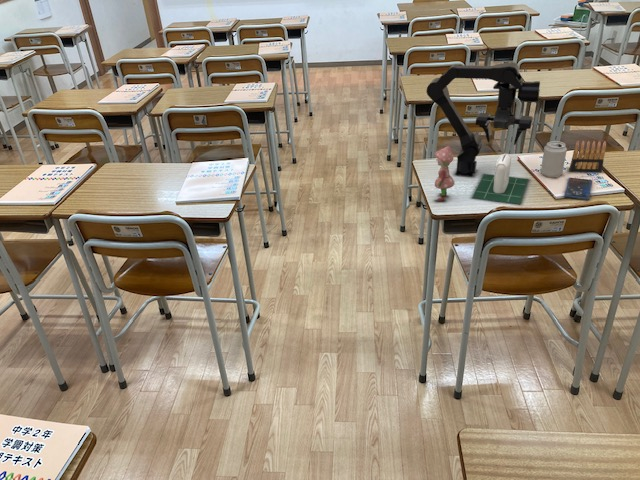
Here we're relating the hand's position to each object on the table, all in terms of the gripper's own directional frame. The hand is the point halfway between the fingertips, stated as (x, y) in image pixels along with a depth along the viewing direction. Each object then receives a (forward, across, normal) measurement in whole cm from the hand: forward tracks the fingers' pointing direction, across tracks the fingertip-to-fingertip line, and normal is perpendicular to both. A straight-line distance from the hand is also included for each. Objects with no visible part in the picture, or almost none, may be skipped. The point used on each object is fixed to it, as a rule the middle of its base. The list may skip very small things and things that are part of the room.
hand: (501, 143), depth 177 cm
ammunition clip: (+13, +29, +12) cm, 34 cm away
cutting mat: (+13, +3, -11) cm, 17 cm away
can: (+13, +18, +7) cm, 23 cm away
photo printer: (+13, +3, -11) cm, 17 cm away
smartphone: (+13, +28, -4) cm, 31 cm away
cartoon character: (+13, -14, -24) cm, 31 cm away
